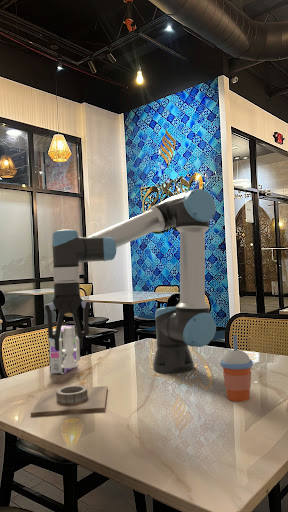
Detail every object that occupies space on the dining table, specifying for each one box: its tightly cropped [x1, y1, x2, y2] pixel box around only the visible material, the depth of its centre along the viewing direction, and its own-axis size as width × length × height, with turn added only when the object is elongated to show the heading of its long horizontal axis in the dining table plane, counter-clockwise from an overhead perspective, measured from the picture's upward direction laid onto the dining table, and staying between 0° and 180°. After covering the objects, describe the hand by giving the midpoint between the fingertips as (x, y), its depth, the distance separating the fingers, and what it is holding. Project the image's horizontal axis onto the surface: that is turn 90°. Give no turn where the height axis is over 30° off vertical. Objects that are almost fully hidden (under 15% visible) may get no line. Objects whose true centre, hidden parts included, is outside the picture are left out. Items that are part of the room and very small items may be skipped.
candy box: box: [47, 325, 78, 375], centre depth 162 cm, size 14×6×16 cm, turn 168°
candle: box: [61, 327, 80, 369], centre depth 123 cm, size 5×5×12 cm
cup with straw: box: [220, 334, 254, 403], centre depth 119 cm, size 9×9×18 cm
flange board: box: [30, 384, 108, 417], centre depth 123 cm, size 20×20×4 cm
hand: (69, 360), depth 123 cm, fingers closed on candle, 4 cm apart
